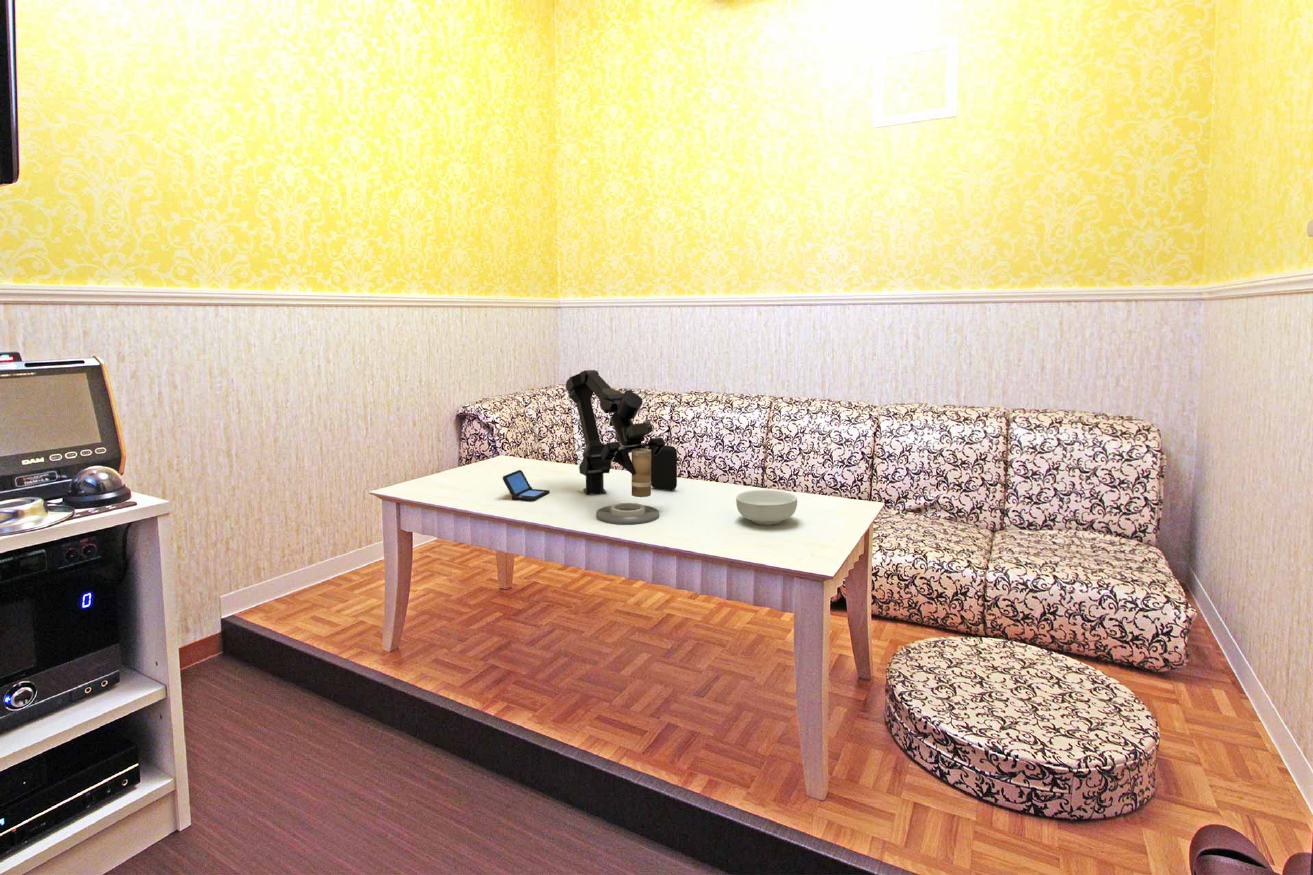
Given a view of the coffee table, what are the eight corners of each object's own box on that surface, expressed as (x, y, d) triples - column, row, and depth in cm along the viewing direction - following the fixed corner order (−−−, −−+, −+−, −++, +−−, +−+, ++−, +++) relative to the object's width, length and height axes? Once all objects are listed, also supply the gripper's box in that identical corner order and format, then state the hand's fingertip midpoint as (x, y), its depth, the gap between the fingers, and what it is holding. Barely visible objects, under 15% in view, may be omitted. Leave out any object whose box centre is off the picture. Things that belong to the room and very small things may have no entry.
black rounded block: (645, 488, 239) (645, 444, 237) (649, 486, 242) (649, 443, 239) (674, 492, 234) (674, 447, 232) (678, 490, 237) (678, 445, 234)
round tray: (591, 509, 213) (590, 501, 212) (650, 505, 218) (650, 497, 217) (602, 526, 196) (602, 517, 195) (666, 521, 200) (666, 513, 200)
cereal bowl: (756, 509, 213) (757, 486, 212) (807, 519, 203) (808, 495, 202) (723, 522, 201) (724, 497, 199) (776, 533, 190) (777, 507, 189)
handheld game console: (533, 502, 222) (532, 479, 220) (501, 500, 225) (501, 476, 223) (551, 493, 233) (550, 470, 232) (521, 491, 237) (520, 468, 235)
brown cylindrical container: (633, 491, 210) (633, 447, 208) (652, 492, 209) (652, 448, 207) (630, 496, 205) (630, 451, 202) (649, 497, 204) (649, 452, 202)
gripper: (605, 414, 202) (624, 460, 194) (662, 410, 211) (682, 453, 204) (593, 437, 210) (610, 482, 202) (648, 432, 219) (667, 475, 212)
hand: (643, 473), depth 205 cm, fingers closed on brown cylindrical container, 5 cm apart
